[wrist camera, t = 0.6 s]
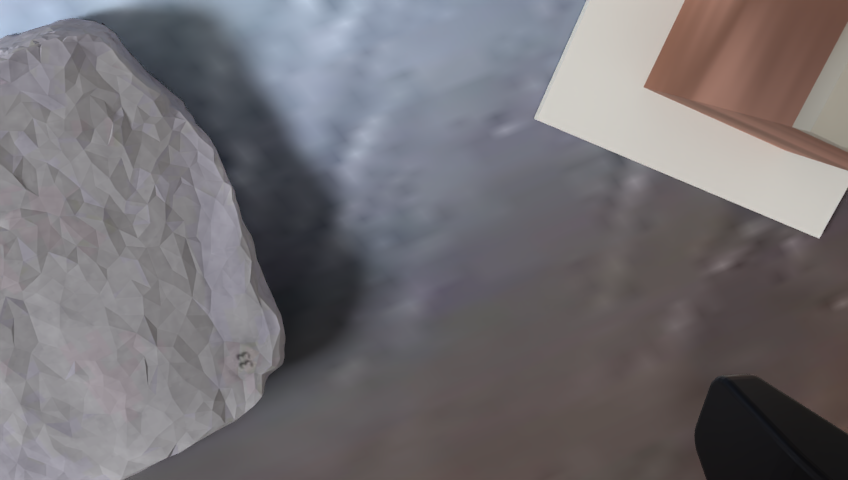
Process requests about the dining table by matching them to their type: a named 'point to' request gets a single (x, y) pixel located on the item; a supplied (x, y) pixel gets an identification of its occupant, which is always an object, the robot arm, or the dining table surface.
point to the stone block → (116, 266)
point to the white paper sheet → (675, 120)
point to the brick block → (763, 70)
